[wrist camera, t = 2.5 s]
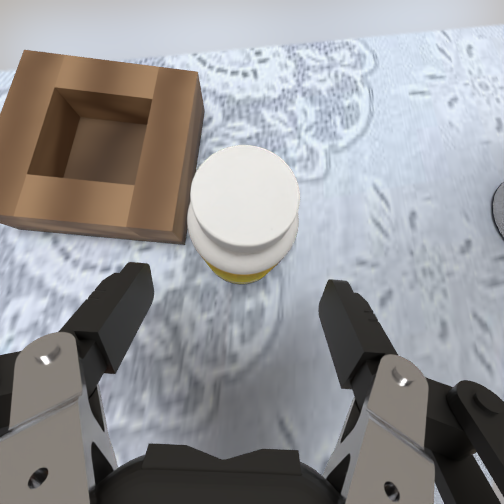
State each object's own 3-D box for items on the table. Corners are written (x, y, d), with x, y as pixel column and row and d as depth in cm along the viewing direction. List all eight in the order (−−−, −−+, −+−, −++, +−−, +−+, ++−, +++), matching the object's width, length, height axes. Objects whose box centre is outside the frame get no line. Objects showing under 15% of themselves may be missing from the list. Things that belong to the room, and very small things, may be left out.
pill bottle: (276, 285, 20) (322, 268, 9) (204, 284, 19) (163, 265, 9) (275, 218, 21) (315, 132, 10) (207, 216, 21) (176, 124, 10)
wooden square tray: (204, 110, 23) (197, 71, 19) (184, 244, 20) (172, 231, 16) (61, 93, 22) (24, 49, 18) (19, 229, 19) (-36, 211, 15)
